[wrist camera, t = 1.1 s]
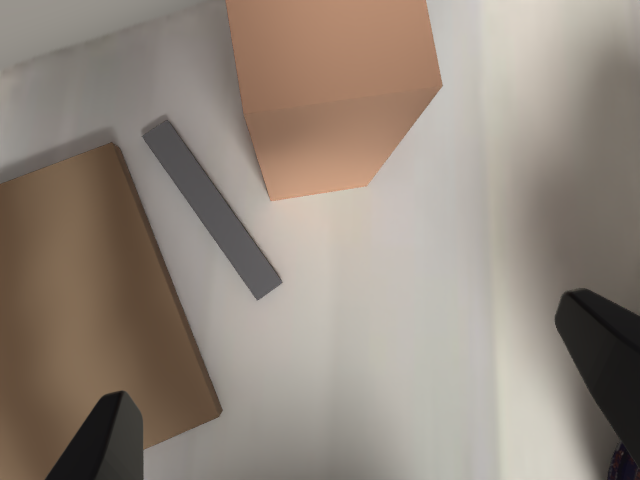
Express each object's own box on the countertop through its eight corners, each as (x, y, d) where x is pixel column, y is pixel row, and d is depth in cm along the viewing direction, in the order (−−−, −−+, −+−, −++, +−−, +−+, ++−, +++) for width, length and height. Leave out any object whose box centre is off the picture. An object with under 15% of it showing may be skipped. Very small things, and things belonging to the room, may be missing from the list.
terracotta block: (366, 186, 23) (442, 85, 11) (270, 201, 23) (243, 113, 11) (350, 93, 24) (406, -99, 12) (255, 106, 23) (213, -77, 11)
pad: (120, 148, 23) (111, 142, 22) (222, 410, 22) (219, 416, 21) (-161, 254, 21) (-184, 252, 20) (-65, 535, 21) (-83, 548, 20)
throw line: (144, 138, 23) (141, 136, 22) (169, 122, 23) (167, 119, 22) (257, 300, 22) (257, 300, 22) (282, 282, 22) (282, 282, 22)
